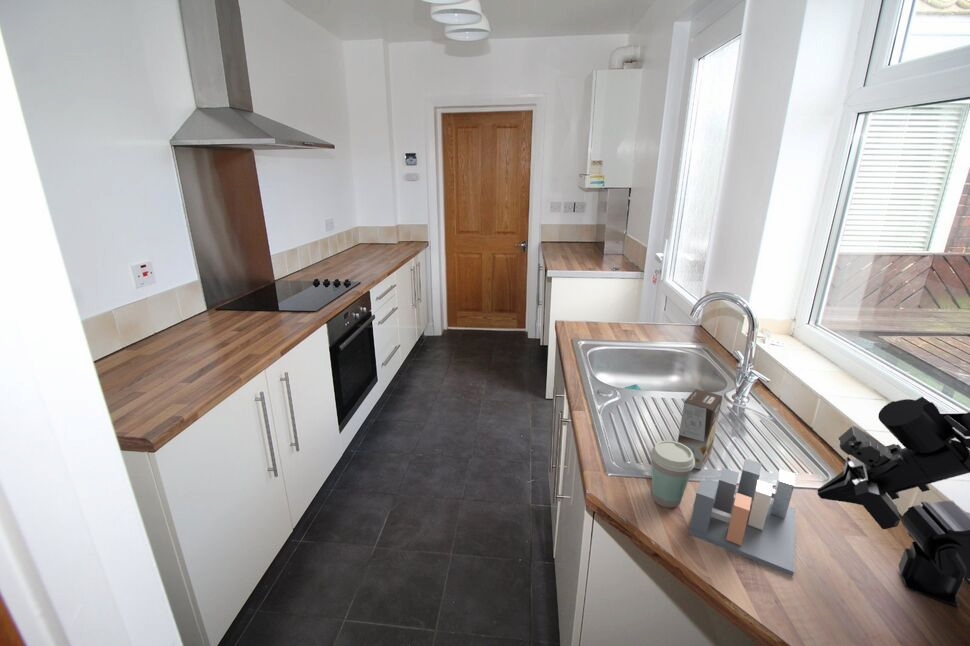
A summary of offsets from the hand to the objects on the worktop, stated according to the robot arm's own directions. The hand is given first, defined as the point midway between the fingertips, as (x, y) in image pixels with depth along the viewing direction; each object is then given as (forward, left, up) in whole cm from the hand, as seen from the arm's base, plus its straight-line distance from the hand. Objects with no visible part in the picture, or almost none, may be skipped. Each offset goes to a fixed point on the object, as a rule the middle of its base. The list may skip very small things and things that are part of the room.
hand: (819, 494), depth 80 cm
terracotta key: (+13, +6, -10) cm, 18 cm away
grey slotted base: (+10, 0, -12) cm, 15 cm away
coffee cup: (+25, +1, -12) cm, 27 cm away
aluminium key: (+7, -6, -10) cm, 14 cm away
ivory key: (+10, 0, -10) cm, 15 cm away
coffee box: (+23, -18, -12) cm, 31 cm away
